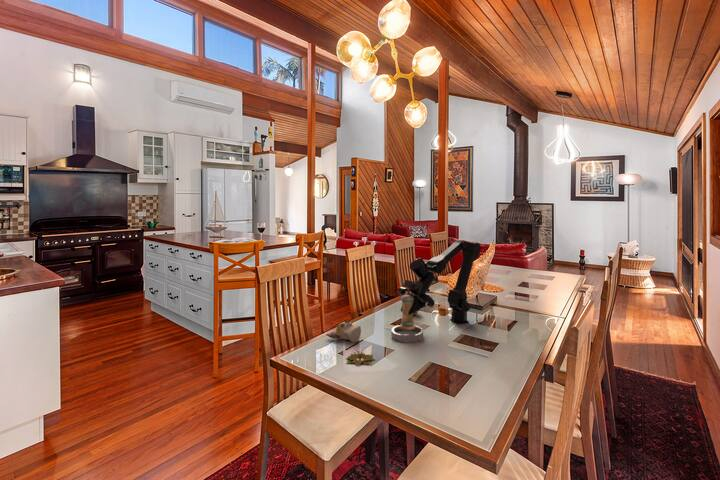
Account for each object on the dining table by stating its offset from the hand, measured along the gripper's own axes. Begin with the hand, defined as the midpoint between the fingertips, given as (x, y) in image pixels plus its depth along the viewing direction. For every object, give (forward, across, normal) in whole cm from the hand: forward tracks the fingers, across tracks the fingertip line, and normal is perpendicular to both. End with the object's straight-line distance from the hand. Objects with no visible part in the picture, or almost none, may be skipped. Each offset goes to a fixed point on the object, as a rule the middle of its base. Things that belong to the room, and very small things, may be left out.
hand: (405, 312), depth 164 cm
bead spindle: (+4, 0, +6) cm, 7 cm away
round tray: (+7, 0, +9) cm, 11 cm away
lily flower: (+28, +7, -12) cm, 31 cm away
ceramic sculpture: (+23, -14, -7) cm, 28 cm away
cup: (-9, -21, +25) cm, 34 cm away
